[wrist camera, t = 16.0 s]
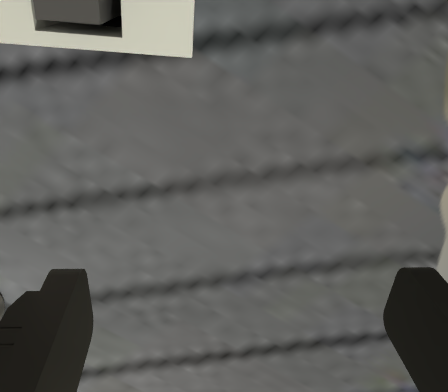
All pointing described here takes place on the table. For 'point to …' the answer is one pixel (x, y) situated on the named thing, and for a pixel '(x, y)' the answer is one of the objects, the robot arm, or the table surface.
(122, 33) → the panel
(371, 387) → the table surface
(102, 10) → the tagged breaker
